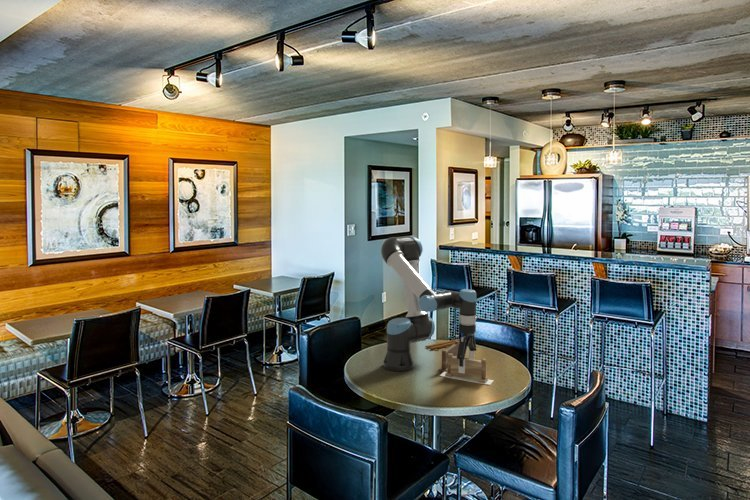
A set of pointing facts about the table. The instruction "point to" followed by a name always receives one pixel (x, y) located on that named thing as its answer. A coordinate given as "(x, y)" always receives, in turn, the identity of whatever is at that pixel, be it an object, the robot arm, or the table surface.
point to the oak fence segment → (467, 368)
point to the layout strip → (468, 379)
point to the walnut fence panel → (451, 349)
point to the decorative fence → (441, 345)
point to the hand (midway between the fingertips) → (466, 368)
